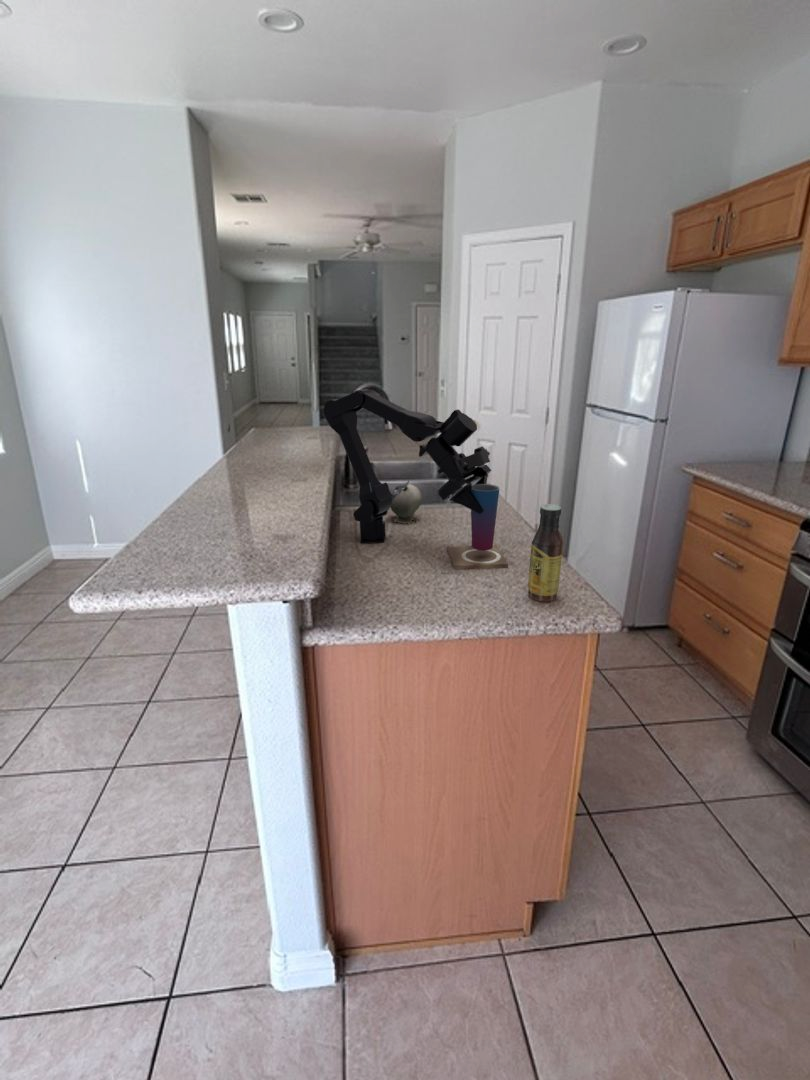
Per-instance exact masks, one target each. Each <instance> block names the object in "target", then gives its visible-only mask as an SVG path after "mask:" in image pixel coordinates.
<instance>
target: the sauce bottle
mask: <svg viewBox="0 0 810 1080" xmlns="http://www.w3.org/2000/svg"><path fill="white" fill-rule="evenodd" d="M539 513H540V515H539V516H540V517H539V525H538V528H537V529H536V532H535V535H534V536H533V539H532V541H531V545H530V557H529V567H528V568H529V569H528V581H527V589H528V590H527V595H528V596H529V598H531V599H533V600H534V601H537V602H552V601H554V600H556V599H557V596H558V593H559V585H560V579H561V578H560V576H561V569H562V568H561V567H562V559H563V558H562V557H563V545H564V539H563V536H562V534H561V532H560V530H559V528H560V524H559V523H560V516H561V514H562V507H561V506H559V505H557V504H553V503H552V504H551V503H549V504H548V503H547V504H542V505H541V506H540V509H539Z"/></svg>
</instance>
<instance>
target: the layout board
mask: <svg viewBox="0 0 810 1080" xmlns="http://www.w3.org/2000/svg"><path fill="white" fill-rule="evenodd" d="M446 552H447V555H448V557H449V559H450V562H451V566H452V569H453V570H454V569H455V570H476V569H477V570H479V569H481V570H482V569H485V570H486V569H508V568H509V563H508V561H507V560H506V558H505V556H504V555H503V553H502V551H501V550H500V548H499V547H498V545H497V544H496V545H494V544H493V547H492V549H490V550H476V549H474V548H472V545H462V546H460V545H459V546H446Z"/></svg>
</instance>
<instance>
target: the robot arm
mask: <svg viewBox="0 0 810 1080" xmlns="http://www.w3.org/2000/svg"><path fill="white" fill-rule="evenodd" d="M363 409H364V410H366V411H368V412H370V413H372V414H374V415H375V416H377V417H379V418H382V419H383V420H384V421H385V420H386V421H387V422H388V423H392V424H393V425H395V426H396V427H398V429H399V430H400V431H401V433H402V434H404V435H405V436H406V437H407V438H408V439H410V440H411V441H413V442H418V443H419V442H422V441H423V442H424V441H426V440H428V439H429V440H428V441H427V442H426V443H425V444H424V443H423V444H420V445H419V452H418V457H420V458H421V457H422V458H423V457H425V456H429V457H430V459H431V460H432V461H433V462H434V463H435V465H436V466H437V467H438V470H437V472H438V474H439V475H442V474H443V475H444V477H446V478H447V482H445V483H444V484H442V486H441V487H440V488H439V489H438V494H437V495H438V497H439V498H440V500H442V502H445V501H447V500H449V501H450V502H454V503H457V504H458V505H460V506H463V507H465V508H467V509H470V511H471V510H473V511H475V512H477V513H479V514H481V513H482V512H483V509H482V507H481V506H480V504H479V502H478V501H477V499H476V498H475V496H474V494H473V493H472V485H476V484H488V482H487V481H488V478H489V474H490V473H491V472H492V469H491V468H490V467H489V466H488V465H487V464H488V463H490V462H491V460H490V454H491V453H490V452H489V451H488V449H487V448H485V447H484V446H479V447H477V448H475V449H474V452H473V453H472V454H470V455H465V454H464V453H462V452H460V453H458V451H457V450H456V449H455V448H454V447H455V446H456V447H461V446H462V445H463V444H465V442H466V441H467V440H468V439H469V438H470V437H471V436H472V435H473V434H474V433H476V431H477V430H478V427H477V424H476V422H475V421H474V420H473V418H472V417H470V416H468V415H467V414H465V413H463V412H462V411H461V410H460V409H454V410H453V411H452V412H451V414H450V416H448V417H447V419H446V420H444V422H443V421H439V420H437V419H436V417H434V416H433V415H431V414H426V413H423V412H419V411H413V410H408V409H406V408H404V407H401V405H398V404H395V403H394V402H392V401H390V400H388V399H386V398H384V397H382V396H380V395H378V394H375V393H374V392H372V390H370V389H368V388H365V389H358V390H355V391H353V392H352V393H350V394H347V395H344V396H343V397H340V398H336V399H329V400H327V401H326V402H325V404H324V406H323V409H322V413H323V416H324V419H325V420H326V422H327V424H328V425H329V427H330V428H331V429H332V430H333V431H334V432H335V433H336V434H337V435H338V436H339V438H340V440H341V443H342V444H343V445H342V446H343V448H344V450H345V453H346V454H347V457H348V460H349V462H350V464H351V467H352V470H353V472H354V473H353V474H354V475H355V477H356V480H357V482H358V485H359V491H358V492H359V493H358V499H359V502H360V506H359V507H358V508H357V509H356V510H355V511H354V512H353V517H354V520H355V521H356V522H359V543H360V544H369V543H371V544H372V543H384V542H385V539H386V521H384V518H383V517H384V516H387V514H388V512H389V510H390V509H391V508H390V507H391V504H392V498H391V497H392V496H393V495H392V494H391V493H392V492H391V491H390V488H389V484H388V483H387V482H383V483H382V482H381V481H379V479H378V478H377V476H376V474H375V470H374V469H373V466H372V463H371V462H370V459H369V456H368V454H367V451H366V448H365V446H364V444H363V442H362V441H363V440H362V438H361V436H360V433H359V431H358V415H357V414H358V413H357V412H359V411H361V410H363ZM437 434H439V435H438V436H437V437H435V436H436V435H437ZM451 495H452V496H451ZM450 497H451V498H450Z"/></svg>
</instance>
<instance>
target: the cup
mask: <svg viewBox="0 0 810 1080" xmlns="http://www.w3.org/2000/svg"><path fill="white" fill-rule="evenodd" d="M472 493H473V494H474V496H475V498H476V499H477V501H478V502H479V504H480V506H481V507H482V509H483V512H482V513H481V514H479V513H477V512H475V511H473V510H471V509H470V514H471V515H470V519H471V521H470V523H471V524H470V526H471V527H470V528H471V546H472V548H474V549H476V550H490V549H492V547H493V545H494V538H495V529H496V522H497V512H498V506H499V505H498V503H499V496H500V495H499V494H500V487H499V486H498V485H496V484H490V483H487V484H476V485H472Z"/></svg>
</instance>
